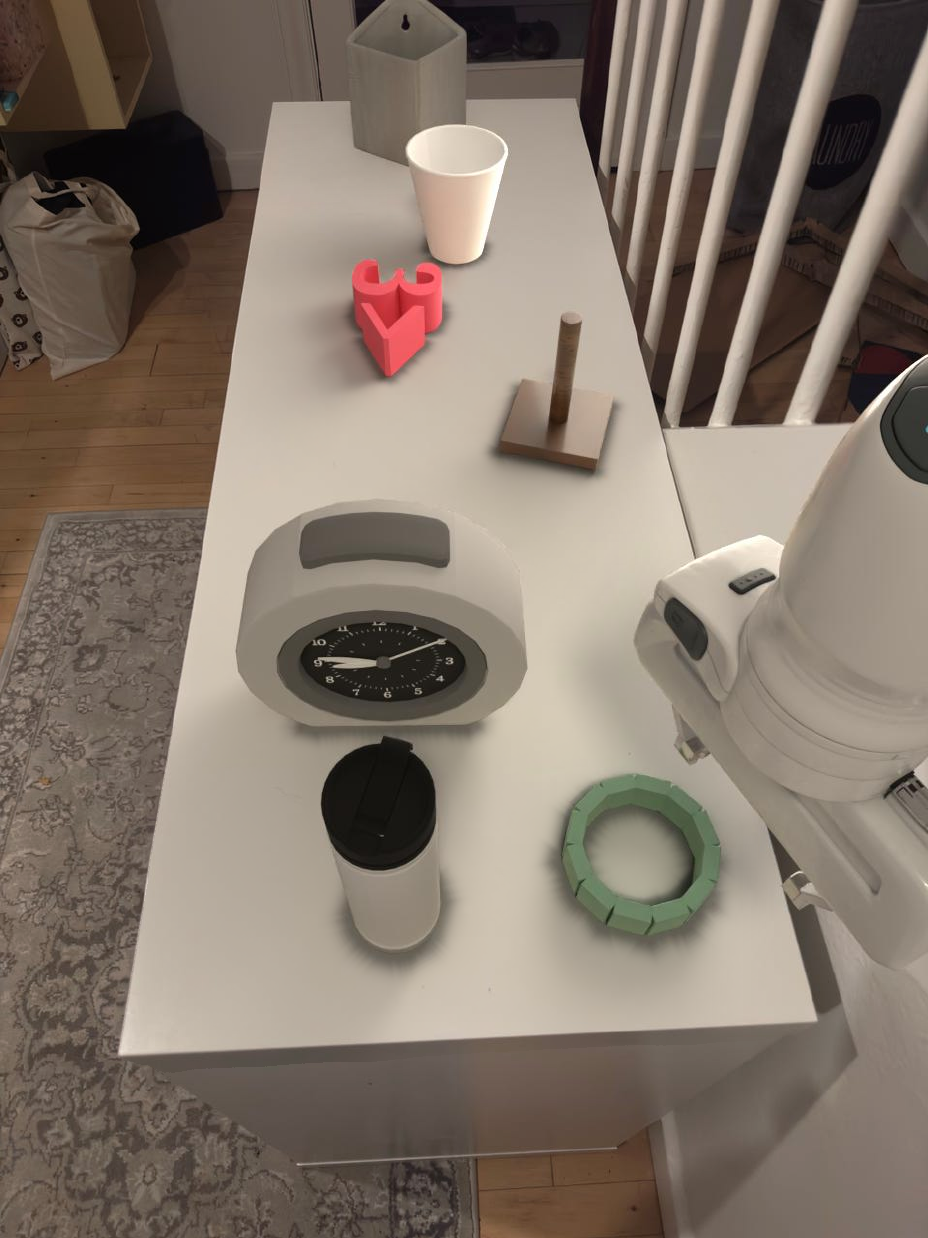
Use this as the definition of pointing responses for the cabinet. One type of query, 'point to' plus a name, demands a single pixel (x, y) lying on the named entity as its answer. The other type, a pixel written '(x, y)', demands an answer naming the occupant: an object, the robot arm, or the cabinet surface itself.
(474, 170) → the cup
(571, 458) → the stand
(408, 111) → the planter
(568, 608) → the cabinet surface
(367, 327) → the letters
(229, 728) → the cabinet surface
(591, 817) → the ring
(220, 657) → the cabinet surface
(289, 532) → the alarm clock
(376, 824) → the travel mug
